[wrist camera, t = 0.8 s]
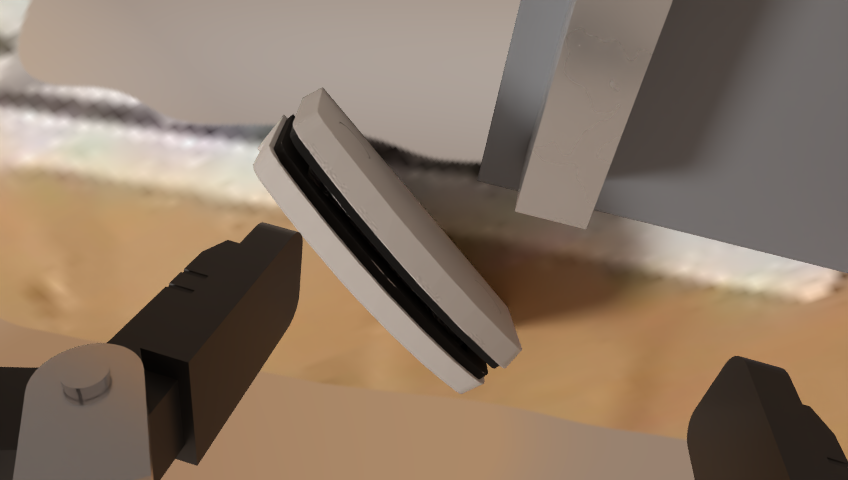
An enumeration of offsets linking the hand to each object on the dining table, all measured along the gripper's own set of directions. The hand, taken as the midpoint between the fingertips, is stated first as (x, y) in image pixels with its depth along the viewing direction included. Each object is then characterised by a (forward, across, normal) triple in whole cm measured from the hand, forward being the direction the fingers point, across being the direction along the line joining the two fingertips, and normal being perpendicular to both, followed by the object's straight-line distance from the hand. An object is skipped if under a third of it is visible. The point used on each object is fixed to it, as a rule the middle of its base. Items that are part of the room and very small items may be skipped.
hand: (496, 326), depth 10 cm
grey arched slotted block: (+19, +5, +9) cm, 21 cm away
